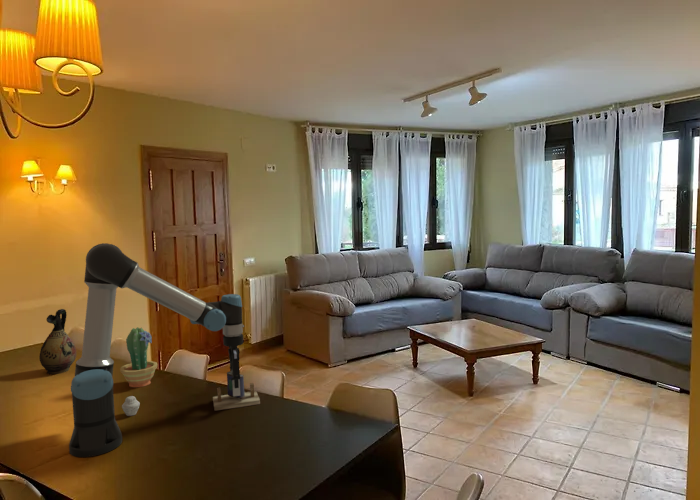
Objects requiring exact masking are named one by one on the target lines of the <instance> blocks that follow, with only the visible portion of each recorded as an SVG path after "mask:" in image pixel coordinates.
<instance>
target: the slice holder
mask: <svg viewBox="0 0 700 500" xmlns="http://www.w3.org/2000/svg"><path fill="white" fill-rule="evenodd" d="M249 387H250V388H249V390H250V391H247V392H246V391H244V393H245V398H243V397H242V398H243V399H238V398H234V397H231V396H229V395H228V394H224V395H223V394H222V389H221V386H218V387H216V389H217V392H216V393H217V395H215V396H212V401H213V402H212V403H213V409H214V412H215V411H221V410H228V409H229V410H230V409H236V408H243V407H248V406H255V405H257V406H258V405H260V404H261V398H260V396H259V395H258V392H257V390H255V385H254V382H250V383H249Z"/></svg>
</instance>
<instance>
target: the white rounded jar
mask: <svg viewBox="0 0 700 500" xmlns="http://www.w3.org/2000/svg"><path fill="white" fill-rule="evenodd" d="M140 404H141V403H140V401H138V400H137V398H136V397H135V396H133V395H130V396H127V397H126V398H125V401H124V403H122V405H121V409H122V410H123V413H124V414H125V415H126V416H127V417H133V416H135V415H137V413H138V411H139V408H140Z"/></svg>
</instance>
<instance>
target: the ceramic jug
mask: <svg viewBox="0 0 700 500" xmlns="http://www.w3.org/2000/svg"><path fill="white" fill-rule="evenodd" d="M67 315H68V314H67V310H66V309H65V308H60V309H57V310H56V312H55V315H53V314H49V315H47V317H46V322H47V323H49V324H52V325H53V327H52V329H51V331H50V333H49V334H48V336H47V337H46V338H45V340H44V342H43V344H42V346H41V348H40V350H39V352H40V353H39V356H38V357H39V361H40V364H41V367H42V368H44V369H45V370H46V374H49V375H56V374H64V373H65V372H68V371H69V370H70V368H71V366H72V365H73V363H74V362H75V360H76V358H77V349H76V345H75V343H74V342H73V340H72V339H71V337H70V336H69V334H68V333H66V332H65V327H66V321H67Z"/></svg>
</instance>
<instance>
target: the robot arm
mask: <svg viewBox="0 0 700 500" xmlns="http://www.w3.org/2000/svg"><path fill="white" fill-rule="evenodd" d="M83 279H84V281H83V282H84V284H85V285H87V287H88V290H87V291H88V292H87V302H86V311H85V321H84V330H83V340H82V341H83V342H82V351H81V357H79V359H77V360H76V362H75V370H74V377H73V378H72V380H71V385H70V392H71V399H72V400H71V401H72V413H73V429H72V434H71V437H70V441H69V444H68V448H69V449H68V450H69V451H68V452H69V454H70V455H71V456H73V457H77V458H89V457H95V456H99V455H103V454H105V453H108V452H111V451H113V450H115V449H117V448H118V447H119V446H120V445H121V444H122V442H123V434H122V431H121V429H120V426H119V424H118V422H117V420H116V414H115V398H114V379H113V373H114V365H115V364H114V363H115V361H114V359H112V358H111V356H110V355H111V349H112V348H111V347H112V346H111V345H112V335H113V328H114V327H113V326H114V319H115V318H114V317H115V306H116V299H117V298H116V296H117V289H118V288H120V289H125V288H126V289H129V290H131V291H133V292H135V293H137V294H138V295H141V296H143V297H145V298H147V299H149V300H150V301H151V300H152V301H153V302H155V303H157V304H159V305H161V306H163V307H166V308H167V309H169V310H172V311H173V312H175V313H178V314H179V315H181V316H184V317H186V318H187V319H189V320H190V323H191V324H192V325H201V326H202V327H205V329H207V330H209V331H211V332H218V331H221V330H222V335H223V336H222V340H223V346H225V347H228V349H227V351H228V358H229V370H230V371H231V370H232V374H233V378H231V380H232V384H233V396H240V374H241V371H240V347H238V346H241V345H243V344H244V334H243V332H244V331H243V330H244V327H245V325H244V324H243V303H242V297H241V295H240V294H237V293H228V294H224V295H222V296H221V299H220V300H219V301H212V302H211V301H209V302H205V301H204V300H202V299H200V298H198V297H196V296H194V295H193V294H191V293H189V292H187V291H185V290H183V289H181V288H179V287H177V286H176V285H174V284H172V283H171V282H168V281H166V280H164V279H163V278H160V277H159V276H157V275H155V274H153V273H152V272H150V271H147V270H145V269H144V268H143V267H142V268H141V267H140V264H139V263H138V262H137V261H136V260H134V259H131V258H130V257H128V256H127V255H126V254H125V253H124V252H123V251H122V250H121V248H119V246H117V245H115V244H113V243H111V244H110V243H108V242H107V243H98V244H96V245H94V246H92V247H91V248H90V249H89V250H88V252H87V254H86V256H85V271H84V278H83ZM230 371H229V372H230Z"/></svg>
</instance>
